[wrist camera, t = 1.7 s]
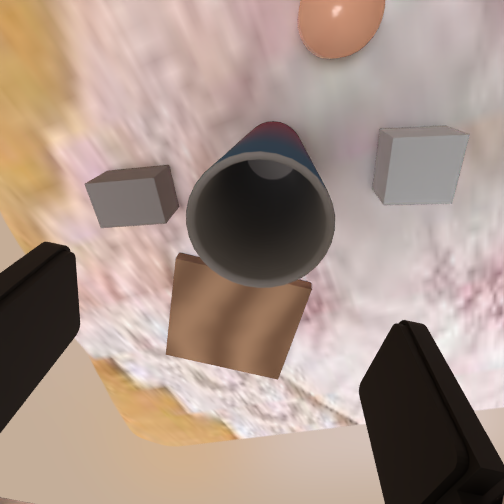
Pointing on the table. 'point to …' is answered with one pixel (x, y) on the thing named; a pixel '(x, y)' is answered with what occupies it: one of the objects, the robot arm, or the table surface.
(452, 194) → the slate block
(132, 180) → the taupe block
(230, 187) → the cup
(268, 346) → the walnut board
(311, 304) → the table surface
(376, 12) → the terracotta ball
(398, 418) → the robot arm
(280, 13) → the table surface
